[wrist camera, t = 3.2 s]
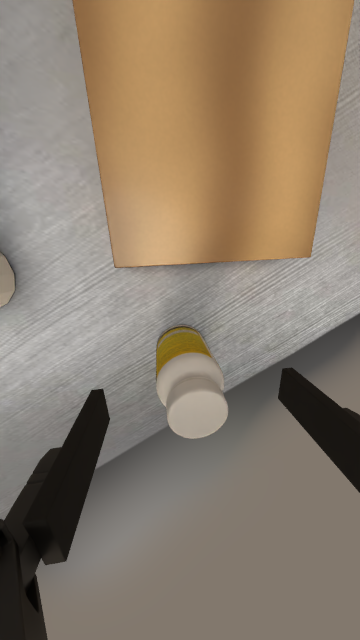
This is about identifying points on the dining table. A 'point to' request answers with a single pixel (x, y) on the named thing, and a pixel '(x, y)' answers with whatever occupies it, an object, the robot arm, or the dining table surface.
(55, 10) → the dining table surface
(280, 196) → the maple riser
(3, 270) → the white cup
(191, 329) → the supplement bottle
